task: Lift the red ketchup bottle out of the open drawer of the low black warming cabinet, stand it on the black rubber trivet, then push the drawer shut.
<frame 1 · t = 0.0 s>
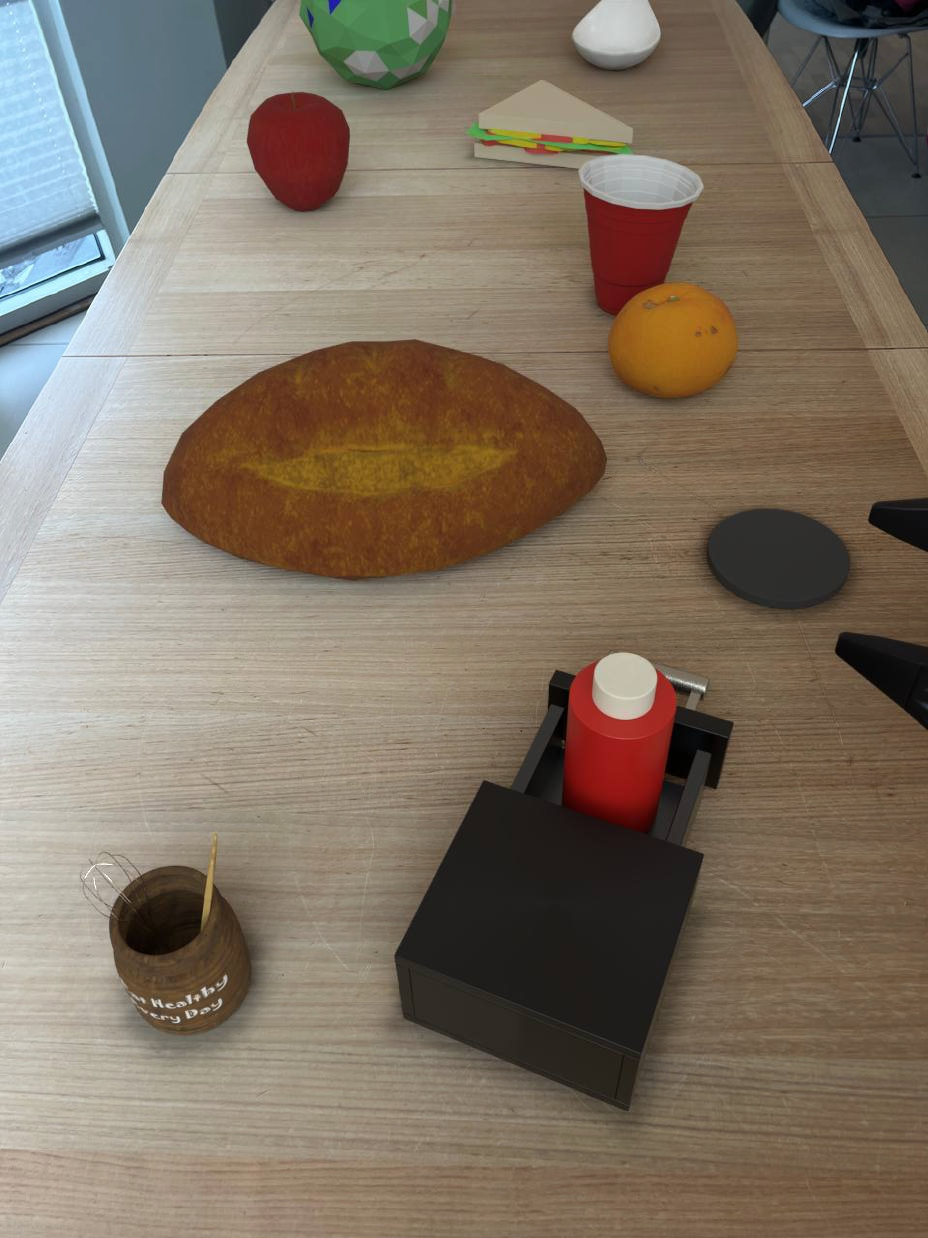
hand: (854, 573, 48), 18 cm above the table, tool horizontal, fingers open, 9 cm apart
ketchup bottle: (609, 804, 58), point 2 cm above the table, touching drawer
decorative sphere: (383, 81, 143), on the table
drawer: (625, 755, 59), point 3 cm above the table, slide at 8.0 cm, touching ketchup bottle
plastic cup: (628, 303, 100), on the table
utensil holder: (198, 984, 54), on the table
sandwich: (553, 158, 124), on the table
spoon rest: (619, 50, 150), on the table
apple: (307, 205, 117), on the table
cabinet: (549, 968, 54), on the table
fruit: (666, 384, 91), on the table
trivet: (776, 560, 74), on the table
bread: (388, 502, 80), on the table
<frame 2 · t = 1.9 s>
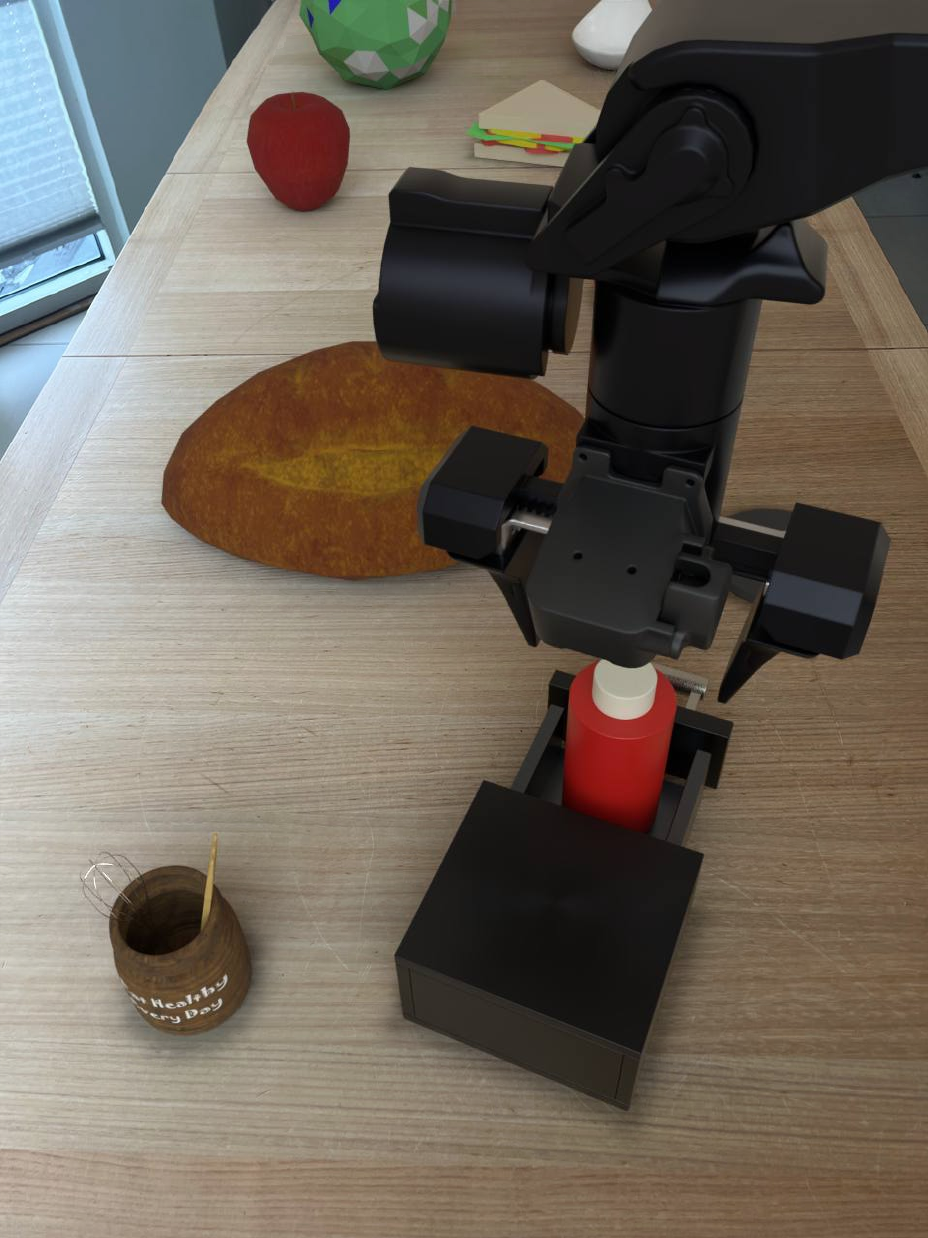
hand: (627, 668, 50), 13 cm above the table, tool pointing down, fingers open, 9 cm apart
nothing on the table moved.
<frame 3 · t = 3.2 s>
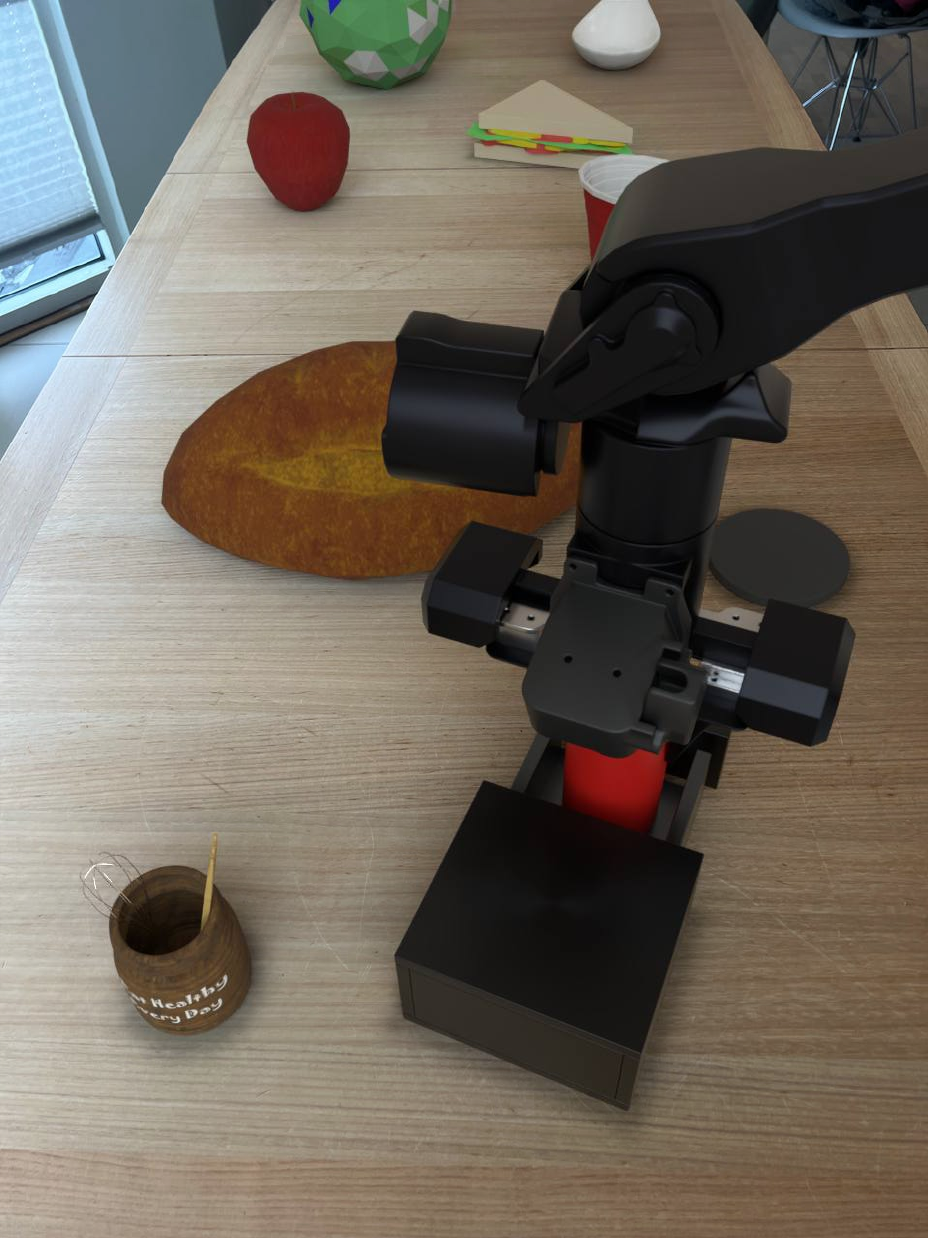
hand: (617, 739, 54), 8 cm above the table, tool pointing down, fingers closed on ketchup bottle, 5 cm apart
ketchup bottle: (609, 804, 58), point 2 cm above the table, touching drawer, gripper
everything else where it was.
when the fingers open (6 cm above the table, at t = 8.9 s): ketchup bottle stays where it is, resting on trivet.
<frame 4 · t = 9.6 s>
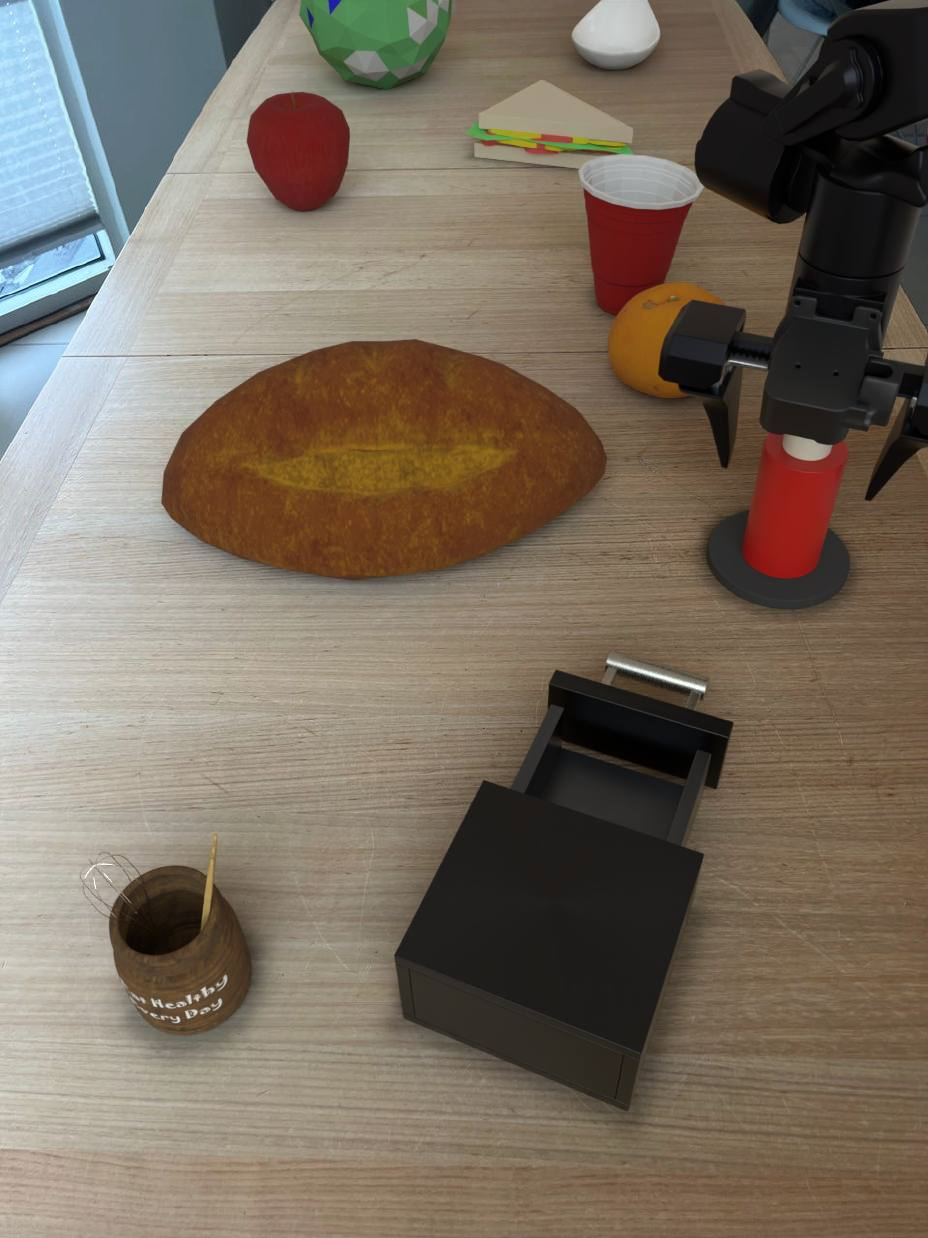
hand: (795, 480, 70), 7 cm above the table, tool pointing down, fingers open, 9 cm apart
ketchup bottle: (779, 553, 74), point 1 cm above the table, touching trivet
drawer: (625, 755, 59), point 3 cm above the table, slide at 8.0 cm
everything else where it was.
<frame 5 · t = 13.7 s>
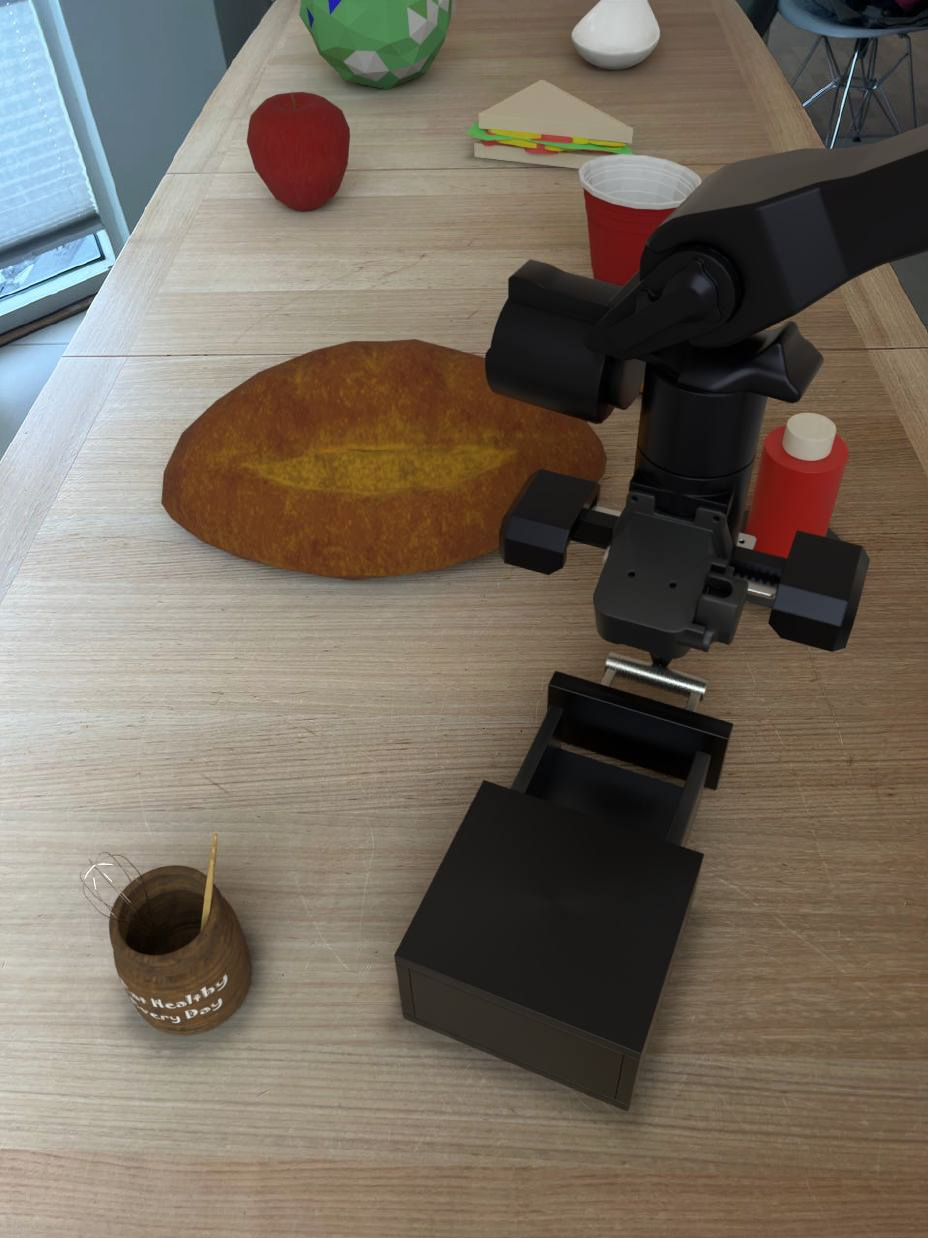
hand: (662, 660, 63), 4 cm above the table, tool pointing down, fingers closed, pressing on drawer
drawer: (624, 756, 59), point 3 cm above the table, slide at 7.9 cm, touching gripper
everything else where it was.
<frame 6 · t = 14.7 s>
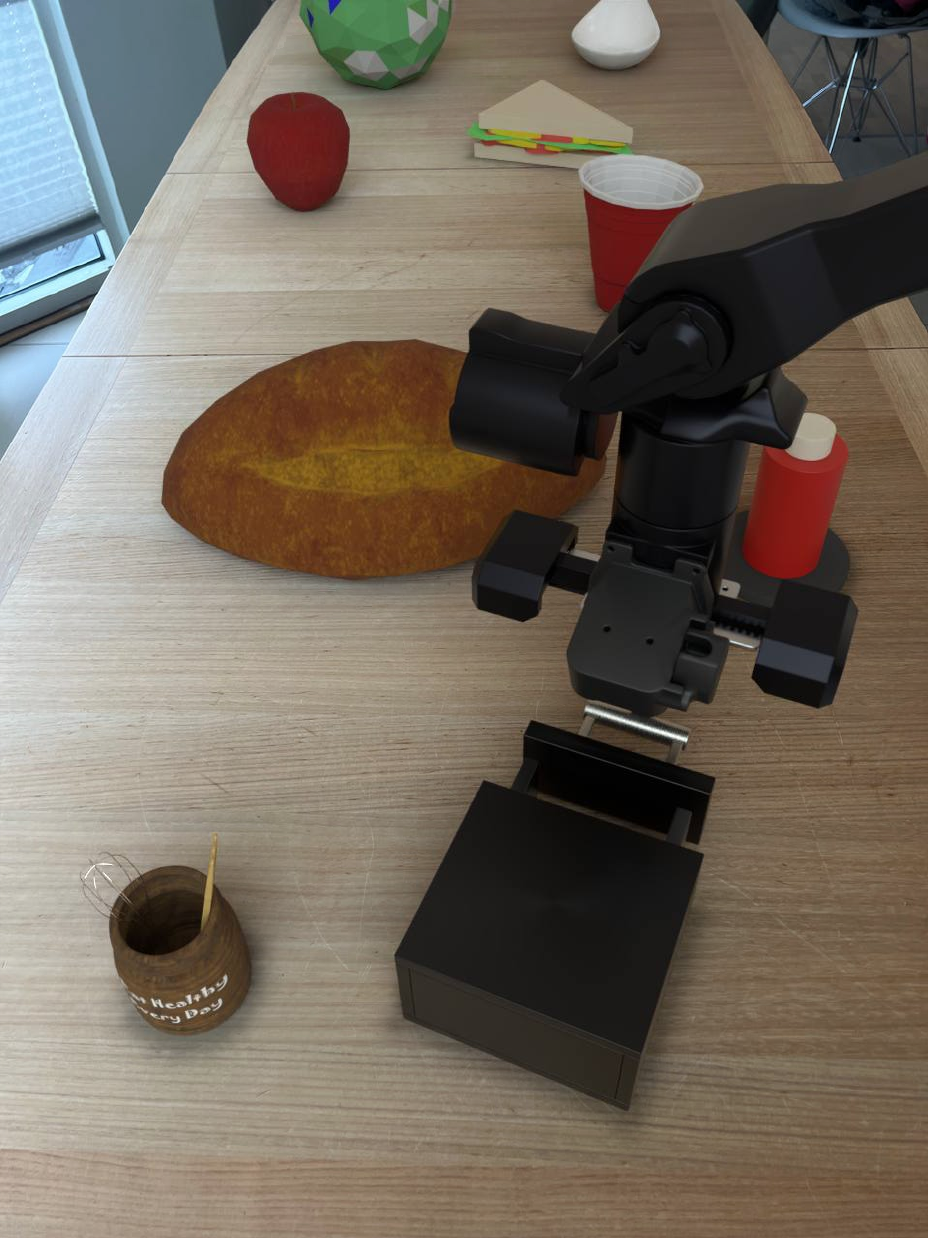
hand: (643, 707, 60), 4 cm above the table, tool pointing down, fingers closed, pressing on drawer
drawer: (602, 810, 56), point 3 cm above the table, slide at 4.0 cm, touching gripper
everything else where it was.
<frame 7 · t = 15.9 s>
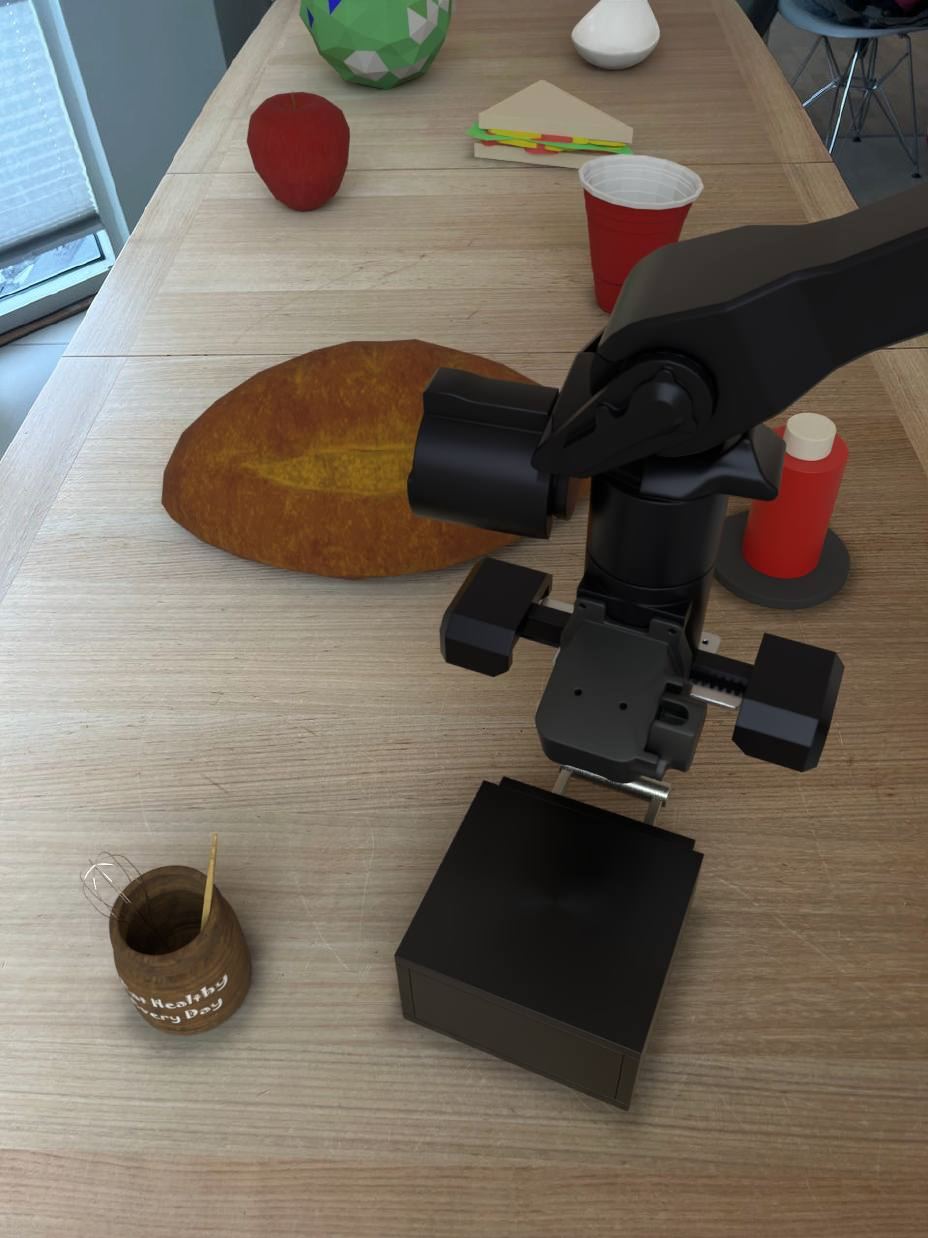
hand: (621, 760, 58), 4 cm above the table, tool pointing down, fingers closed, pressing on drawer
drawer: (577, 873, 54), point 3 cm above the table, slide at 0.0 cm, touching gripper
everything else where it was.
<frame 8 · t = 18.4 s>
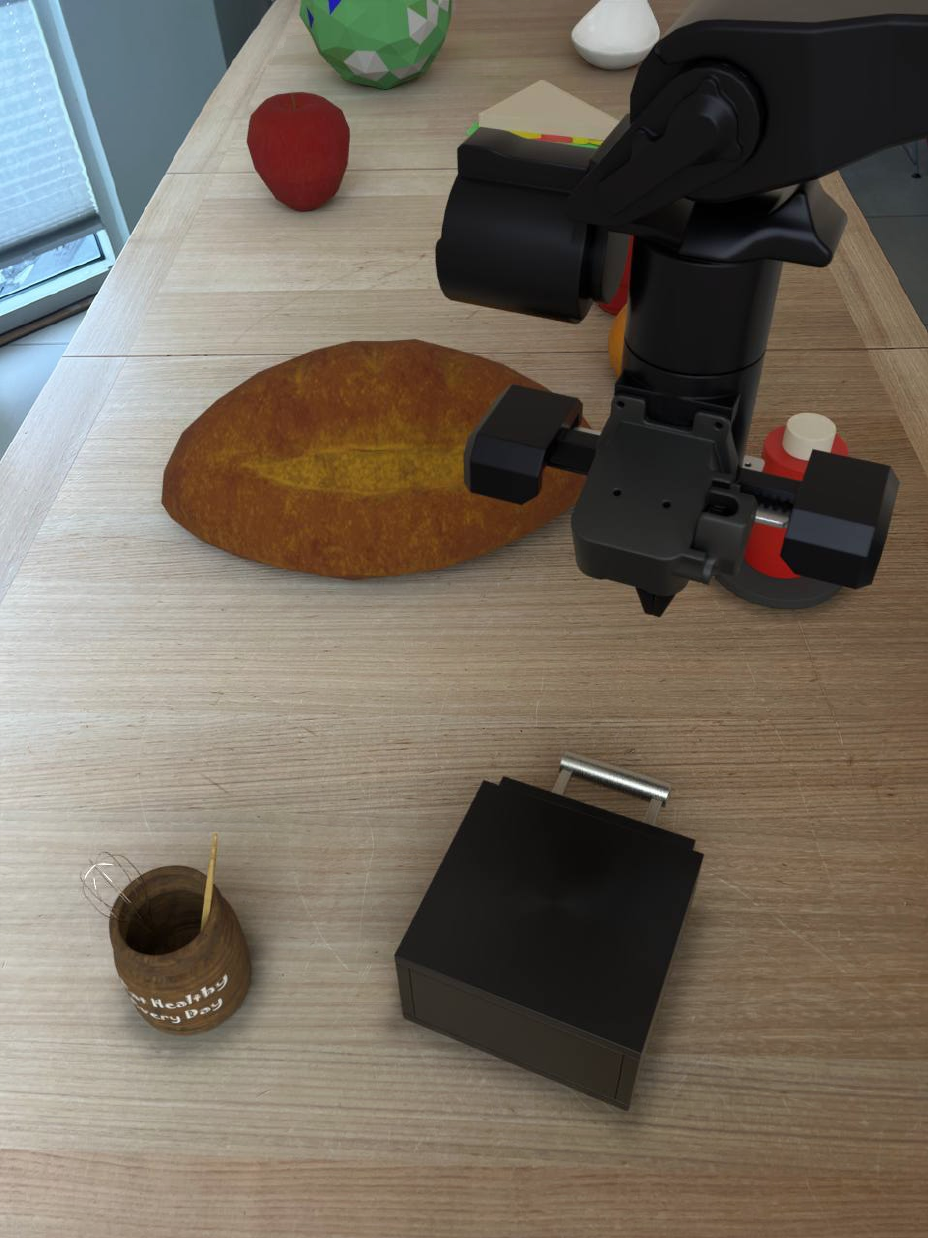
hand: (654, 610, 54), 12 cm above the table, tool pointing down, fingers closed
drawer: (577, 873, 54), point 3 cm above the table, slide at 0.0 cm, touching cabinet
everything else where it was.
at the end: ketchup bottle 0.1 cm off-centre on the trivet, point 0.8 cm above the trivet's base; ketchup bottle tilted 0°; drawer slide at 0.0 cm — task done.
